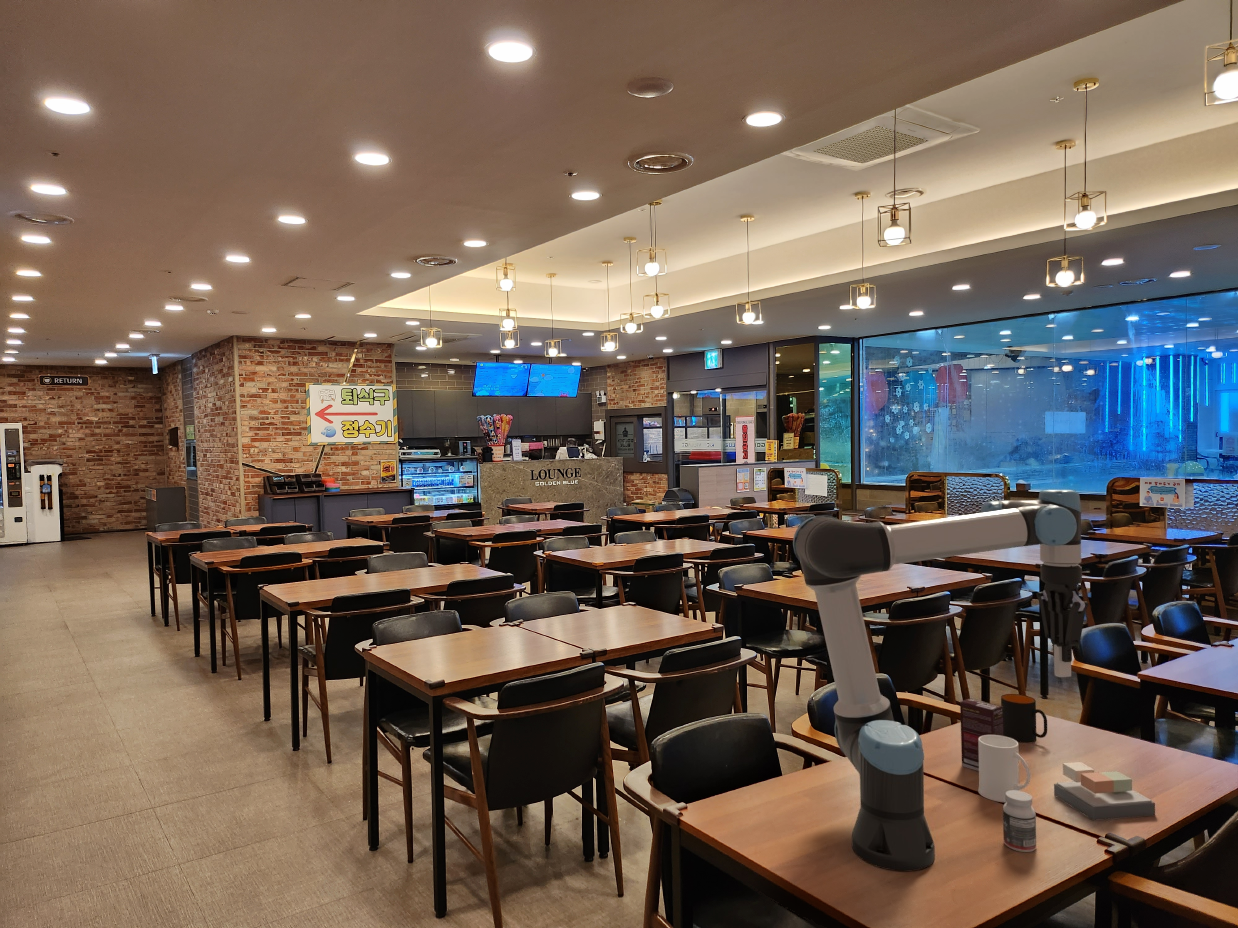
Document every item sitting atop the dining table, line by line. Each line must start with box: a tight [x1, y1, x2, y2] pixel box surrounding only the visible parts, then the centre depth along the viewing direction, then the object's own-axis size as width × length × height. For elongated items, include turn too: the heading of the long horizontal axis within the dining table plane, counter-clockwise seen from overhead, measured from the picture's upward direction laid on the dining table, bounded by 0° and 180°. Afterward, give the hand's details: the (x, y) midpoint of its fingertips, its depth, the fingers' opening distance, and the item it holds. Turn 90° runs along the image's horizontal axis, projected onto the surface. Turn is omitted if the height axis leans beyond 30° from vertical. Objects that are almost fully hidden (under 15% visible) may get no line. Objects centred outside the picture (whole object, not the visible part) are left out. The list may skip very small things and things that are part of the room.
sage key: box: [1099, 770, 1133, 792], centre depth 167 cm, size 4×4×2 cm
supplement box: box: [959, 698, 1004, 772], centre depth 187 cm, size 9×5×16 cm, turn 36°
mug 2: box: [977, 735, 1031, 803], centre depth 171 cm, size 12×8×12 cm
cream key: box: [1062, 761, 1095, 782], centre depth 169 cm, size 4×4×2 cm
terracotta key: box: [1081, 771, 1114, 794], centre depth 163 cm, size 4×4×2 cm
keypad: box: [1053, 780, 1156, 821], centre depth 167 cm, size 14×12×3 cm
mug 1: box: [1000, 693, 1048, 744], centre depth 205 cm, size 8×12×10 cm
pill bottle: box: [1002, 790, 1037, 853], centre depth 150 cm, size 6×6×10 cm
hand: (1062, 675), depth 162 cm, fingers closed
